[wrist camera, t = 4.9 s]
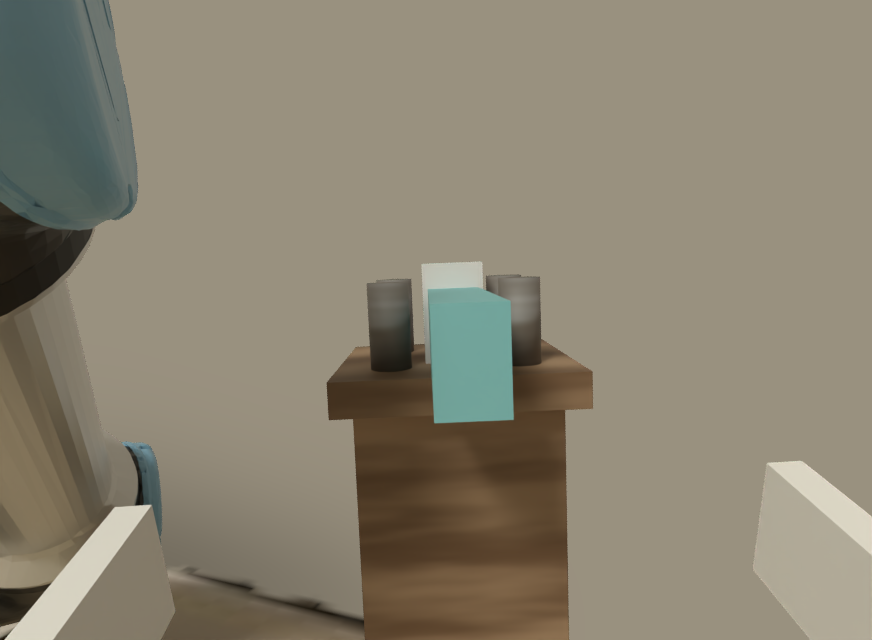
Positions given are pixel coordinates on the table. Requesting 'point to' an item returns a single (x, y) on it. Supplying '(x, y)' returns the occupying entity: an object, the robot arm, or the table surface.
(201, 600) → the table surface
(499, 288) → the wooden pedestal stand
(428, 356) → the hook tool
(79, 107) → the robot arm
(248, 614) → the table surface
